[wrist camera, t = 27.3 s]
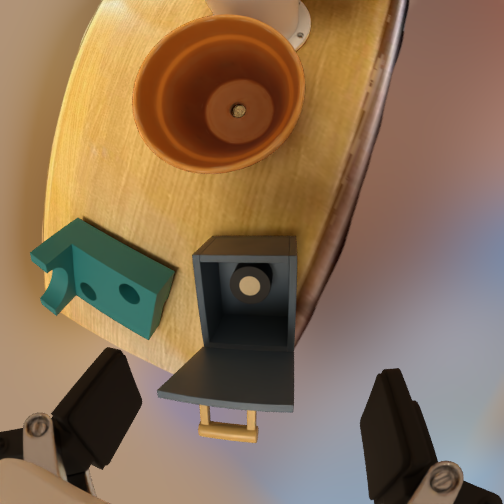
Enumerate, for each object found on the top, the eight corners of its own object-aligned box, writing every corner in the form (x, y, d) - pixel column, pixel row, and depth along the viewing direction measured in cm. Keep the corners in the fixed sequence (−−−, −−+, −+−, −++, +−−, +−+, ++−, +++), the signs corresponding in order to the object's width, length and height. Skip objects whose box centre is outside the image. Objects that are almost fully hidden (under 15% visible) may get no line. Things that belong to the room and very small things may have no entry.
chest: (212, 235, 36) (191, 254, 28) (296, 235, 34) (297, 255, 27) (219, 315, 39) (204, 347, 32) (294, 317, 38) (293, 352, 30)
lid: (156, 390, 19) (164, 439, 19) (293, 405, 18) (288, 456, 18) (203, 346, 31) (204, 385, 31) (293, 351, 30) (291, 391, 30)
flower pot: (258, 192, 33) (239, 209, 21) (165, 136, 32) (105, 127, 20) (322, 97, 29) (340, 60, 16) (223, 46, 28) (190, -4, 16)
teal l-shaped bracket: (79, 267, 42) (41, 303, 34) (77, 217, 36) (30, 252, 28) (163, 318, 42) (131, 366, 34) (174, 271, 36) (134, 324, 28)
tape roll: (234, 256, 35) (227, 266, 32) (272, 256, 35) (270, 266, 31) (236, 290, 37) (230, 303, 33) (272, 291, 36) (270, 305, 33)
